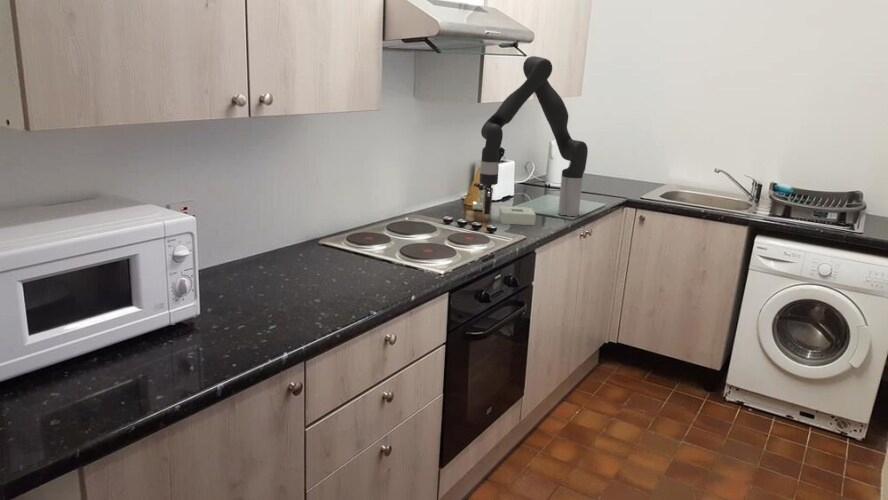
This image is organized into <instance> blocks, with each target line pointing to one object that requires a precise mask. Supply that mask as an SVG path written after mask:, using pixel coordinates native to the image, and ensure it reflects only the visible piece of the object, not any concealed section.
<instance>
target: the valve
mask: <svg viewBox="0 0 888 500" xmlns="http://www.w3.org/2000/svg"><path fill="white" fill-rule="evenodd" d="M473 187H475V188H478V197H477V198H476V200H477V201H472V211H483V194H484V192H483V187H484V188H485V184H481V183H480V182H478V183H477V182H476V183H473Z"/></svg>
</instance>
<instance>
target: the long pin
mask: <svg viewBox="0 0 888 500" xmlns="http://www.w3.org/2000/svg"><path fill="white" fill-rule="evenodd" d="M482 197H483V196H482ZM492 200H493V199H492ZM492 200H491V205H490V214H484V209H485V204H484V203H485V200H484V197H483V210H482V215H481V216H482V217H481V221H483V222H490V221H491V219H492V216H491V215H492ZM486 202H489V200H486Z"/></svg>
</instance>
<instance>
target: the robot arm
mask: <svg viewBox="0 0 888 500" xmlns="http://www.w3.org/2000/svg"><path fill="white" fill-rule="evenodd" d="M552 64H553V63H552V62H551V61H550V60H549V59H548V58H545V57H540V56H528V57H527V58H525V60H524V62H523V67H522V70H523V74H524V76H525V78H526V80H525V81H524V82H523V83H522V85H520V86H519V87H518V88H517V89H516V90H514V91H513V92H512V93H510V94H509V95H508V96H507V97H506V98H505V99H504V100H503V102H502V103H501V105H500V106H499V107H498V109H497V110H496V111H495V112H494V114H492V115H491V116H490V117H489V118H488V119H487V120H486V121H485V123H484V124H483V125H482V128H481V129H480V132H481V133H480V134H481V137H482V138H483V139H485V145H484V147H483V148H482V150H481V163H480V171H479V184H480V183H481V184H485V187H483V190H482V192H483V195H482V197H484V200H485V203H484V204H485V209H484V214H490V205H491V206H492V203H491V200H493V194H494V188H493V187H492V186H495V185H497V184H498V180H499V169H500V167H499V159H500V149H501V147H502V141H503V133H504V132H503V127H504V126H505V125H507V124H509V123H510V122H512V120H513V118H515V115H516V114H517V113H518V112H519V110H520V109H521V108H522V106H523V105H524V104H525V103H526V102H527V101H528V99H530V98H531V96H533V94H534V93H535V94H534V95H535V96H536V99H537V100H538V103H539V104H540V107H541V109H542V112H543V114H544V117H545V119H546V121H547V122H548V125H549V127H550V130H551V131H552V134H553V136H554V139H555V142H556V145H557V148H558V151H559V154H560V156H561V158H562V159H563V160H566V161H568V162H569V161H570V162H569V163H570V164H569V166H568V167H567V168H564V169H562V170H561V177H560V178H561V179H560V180H561V181H560V189H559V199H558V200H559V201H558V209H557V210H558V212H557V214H558V213H559V214H561V215H560V216H562V215H567V216H566V217H571V216H574V217H578V215H580V207H581V197H582V187H583V177H584V174H585V171H586V165H587V162H588V161H587V159H588V154H589V153H588V152H589V151H588V149H589V148H588V145H587V143H586V142H585V141H581V140H577V139H573V138H572V136H571V135H570V132H569V130H568V123H569V112H568V110H567V107H566V105H565V102H564V101H563V99H562V97H561V96H560V94H558V92H557V91H556V90H555V89H554V88H553V86H552V85H551V84H550V82H549V81H548V80H549V78H550V76H551V74H552V72H553V65H552ZM486 200H489V202H486ZM559 214H558V215H559Z"/></svg>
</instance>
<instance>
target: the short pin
mask: <svg viewBox="0 0 888 500" xmlns="http://www.w3.org/2000/svg"><path fill="white" fill-rule="evenodd" d="M474 221H475V210H469V209H468V210H465V222H470V223H471V222H472V223H473V222H474Z"/></svg>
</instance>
